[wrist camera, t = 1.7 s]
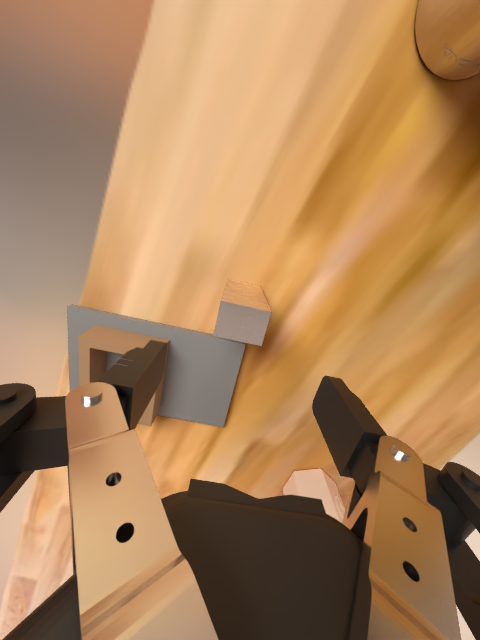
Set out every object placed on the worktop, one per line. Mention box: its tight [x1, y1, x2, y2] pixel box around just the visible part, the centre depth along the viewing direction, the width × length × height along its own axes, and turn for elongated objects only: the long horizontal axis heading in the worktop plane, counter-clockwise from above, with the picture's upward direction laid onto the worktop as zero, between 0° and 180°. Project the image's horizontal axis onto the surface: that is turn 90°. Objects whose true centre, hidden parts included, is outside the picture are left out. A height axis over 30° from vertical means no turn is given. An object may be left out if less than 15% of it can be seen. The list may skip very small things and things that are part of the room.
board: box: [67, 305, 246, 427], centre depth 29 cm, size 14×22×4 cm, turn 77°
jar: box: [283, 468, 345, 523], centre depth 33 cm, size 9×8×12 cm
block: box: [214, 279, 272, 346], centre depth 23 cm, size 6×4×10 cm, turn 167°
